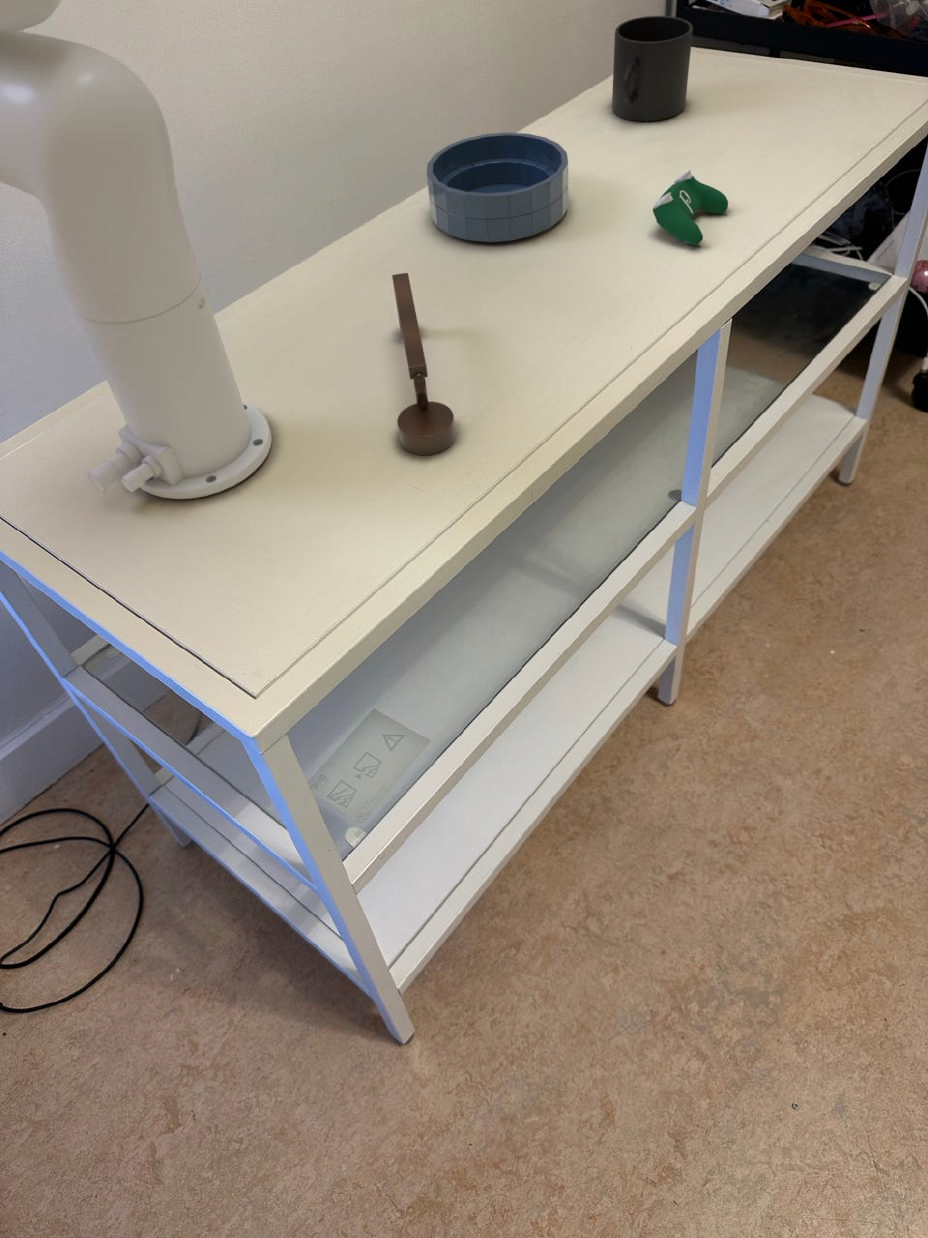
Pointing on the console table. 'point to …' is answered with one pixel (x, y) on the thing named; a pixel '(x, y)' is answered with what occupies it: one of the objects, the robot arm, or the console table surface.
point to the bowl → (498, 186)
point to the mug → (651, 67)
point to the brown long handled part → (419, 385)
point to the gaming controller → (687, 207)
